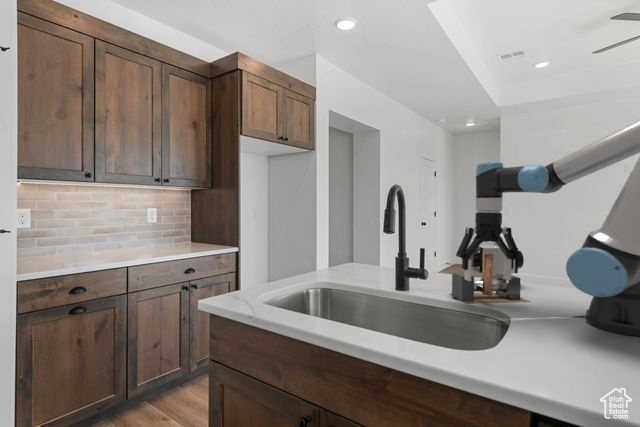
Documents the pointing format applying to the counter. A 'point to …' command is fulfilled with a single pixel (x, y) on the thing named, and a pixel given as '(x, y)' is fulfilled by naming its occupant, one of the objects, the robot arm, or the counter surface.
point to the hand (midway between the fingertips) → (487, 279)
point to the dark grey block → (462, 287)
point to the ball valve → (497, 259)
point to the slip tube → (489, 278)
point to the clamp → (510, 288)
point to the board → (491, 299)
